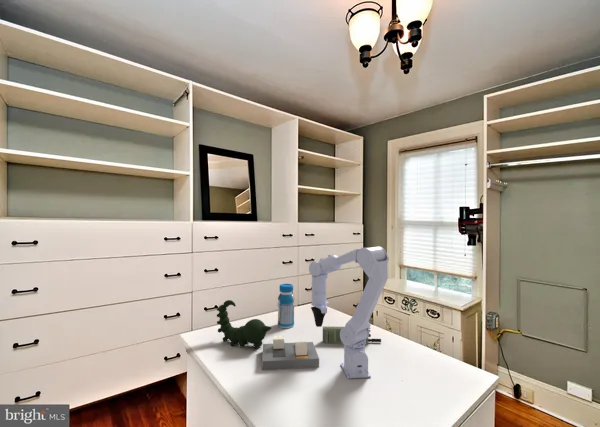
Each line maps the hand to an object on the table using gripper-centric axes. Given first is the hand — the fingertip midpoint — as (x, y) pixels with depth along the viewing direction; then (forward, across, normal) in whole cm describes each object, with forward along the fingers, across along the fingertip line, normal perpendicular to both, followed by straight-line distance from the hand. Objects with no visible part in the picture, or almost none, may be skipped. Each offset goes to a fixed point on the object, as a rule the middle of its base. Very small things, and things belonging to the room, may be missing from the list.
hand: (318, 326), depth 112 cm
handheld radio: (+11, +6, -17) cm, 21 cm away
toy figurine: (+11, +13, +29) cm, 33 cm away
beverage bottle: (+10, +31, +8) cm, 34 cm away
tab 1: (+7, +1, +16) cm, 17 cm away
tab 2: (+7, -6, +9) cm, 13 cm away
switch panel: (+10, -3, +12) cm, 16 cm away
